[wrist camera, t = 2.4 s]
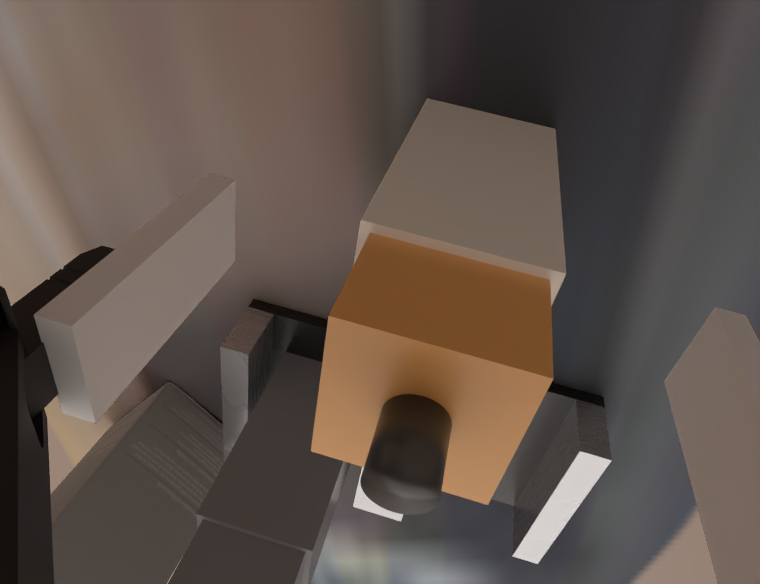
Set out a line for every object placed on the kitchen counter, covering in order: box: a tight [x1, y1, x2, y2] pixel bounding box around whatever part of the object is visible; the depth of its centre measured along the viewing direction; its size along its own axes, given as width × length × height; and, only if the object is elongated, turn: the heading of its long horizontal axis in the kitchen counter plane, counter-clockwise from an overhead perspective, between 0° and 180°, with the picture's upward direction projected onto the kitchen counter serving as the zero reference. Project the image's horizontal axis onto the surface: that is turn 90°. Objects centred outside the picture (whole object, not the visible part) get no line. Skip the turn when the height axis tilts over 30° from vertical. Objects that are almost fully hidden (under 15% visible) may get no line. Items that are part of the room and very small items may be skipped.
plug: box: [311, 98, 566, 515], centre depth 15 cm, size 4×4×14 cm
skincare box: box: [50, 382, 224, 584], centre depth 28 cm, size 8×7×16 cm
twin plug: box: [168, 352, 350, 584], centre depth 23 cm, size 4×4×14 cm
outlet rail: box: [220, 299, 612, 564], centre depth 27 cm, size 9×17×4 cm, turn 81°
